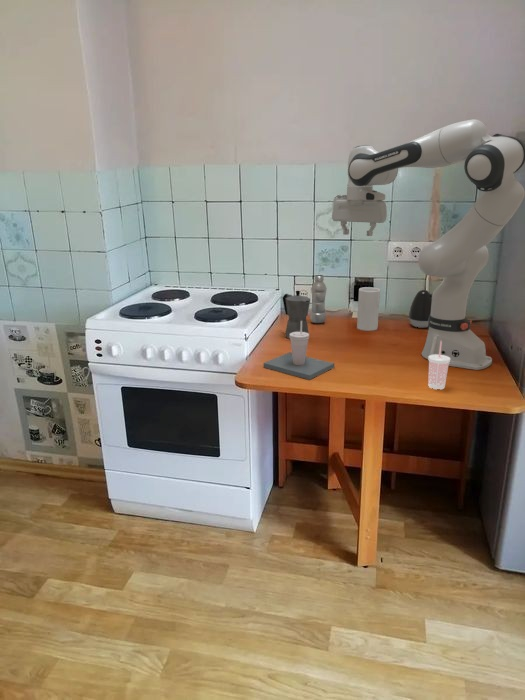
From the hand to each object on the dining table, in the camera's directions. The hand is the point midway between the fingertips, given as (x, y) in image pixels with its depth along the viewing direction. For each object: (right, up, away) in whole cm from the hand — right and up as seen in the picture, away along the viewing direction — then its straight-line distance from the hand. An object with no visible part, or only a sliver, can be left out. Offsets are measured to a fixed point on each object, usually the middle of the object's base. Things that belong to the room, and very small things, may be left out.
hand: (357, 235), depth 193 cm
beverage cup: (+17, -52, -35) cm, 65 cm away
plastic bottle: (-11, -30, +33) cm, 46 cm away
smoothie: (-22, -46, -19) cm, 54 cm away
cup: (+8, -32, +26) cm, 42 cm away
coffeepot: (-21, -36, +15) cm, 44 cm away
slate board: (-22, -47, -19) cm, 55 cm away
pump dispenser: (+31, -32, +28) cm, 52 cm away
